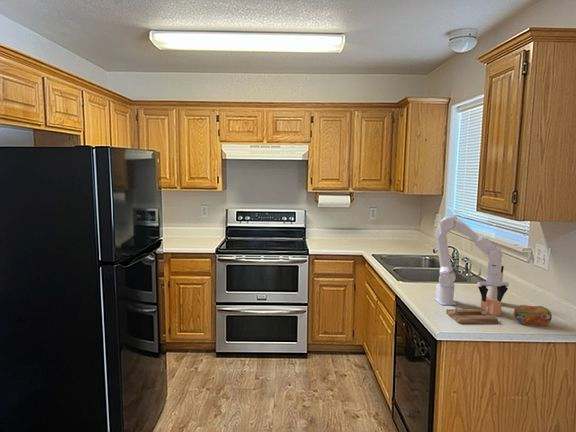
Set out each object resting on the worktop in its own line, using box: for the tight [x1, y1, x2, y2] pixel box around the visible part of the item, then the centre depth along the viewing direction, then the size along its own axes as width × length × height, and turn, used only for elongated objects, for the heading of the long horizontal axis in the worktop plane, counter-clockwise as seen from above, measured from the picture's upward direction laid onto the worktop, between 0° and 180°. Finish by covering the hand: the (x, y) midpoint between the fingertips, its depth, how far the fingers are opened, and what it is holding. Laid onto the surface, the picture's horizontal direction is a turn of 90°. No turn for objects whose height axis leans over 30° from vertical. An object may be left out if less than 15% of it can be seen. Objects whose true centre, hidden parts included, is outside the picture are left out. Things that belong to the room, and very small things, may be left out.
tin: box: [513, 304, 553, 327], centre depth 181 cm, size 15×3×8 cm, turn 81°
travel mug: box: [487, 265, 505, 302], centre depth 207 cm, size 6×7×20 cm
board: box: [445, 307, 499, 325], centre depth 186 cm, size 12×18×5 cm, turn 95°
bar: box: [480, 296, 503, 317], centre depth 195 cm, size 10×4×6 cm, turn 5°
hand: (491, 301), depth 195 cm, fingers open, 7 cm apart
